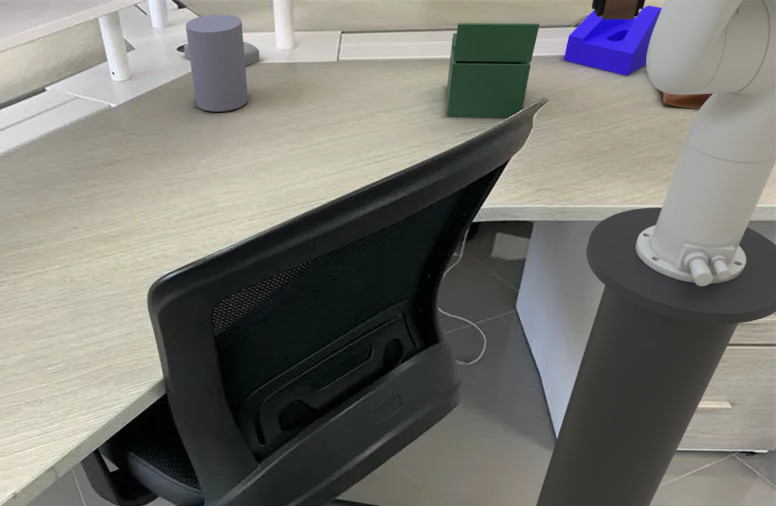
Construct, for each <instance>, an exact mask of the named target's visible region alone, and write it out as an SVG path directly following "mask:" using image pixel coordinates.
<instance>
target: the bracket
mask: <svg viewBox="0 0 776 506" xmlns="http://www.w3.org/2000/svg"><path fill="white" fill-rule="evenodd" d="M661 10H662V7H659V6H653V5H646V6H644V7H643V9H640V10H639V13H638V16H634V17H633V19H602V17H601V16H596V14H595V12H594V10H593V11H591V13H589V14H588V15H587V17H585V18H584V20H583V21H581V23H580V24H579V25H578V26H576V28H575V29H573V31H572V32H571V33H570V34H569V35H568V39H567V42H566V48H565V53H564V56H563V61H565V62H570V63H574V64H577V65H581V66H585V67H590V68H594V69H599V70H602V71H605V72H610V73H615V74H618V75H622V76H626V77H627V76H629V75H631V74H633V73H634V72H636V71H638V70H640V69H641V68H643V67H644V66H646V58H647V51H648V46H649V42H650V39H651V35H652V33H653V30H654V27H655V24H656V22H657V19H658V17H659V14H660V12H661Z"/></svg>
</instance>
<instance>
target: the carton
mask: <svg viewBox="0 0 776 506" xmlns="http://www.w3.org/2000/svg"><path fill="white" fill-rule="evenodd" d="M456 35H457V32H456V33H454V32H453V33H452V37H451V38H452V39H451V47H450V57H449V65H448V76H447V85H446V117H448V118H449V117H450V118H451V117H452V118H484V119H485V118H489V119H493V118H494V119H509V118H508V117H510V116H512V115H514V114H516V113H517V112H519V111H520V110H522V109H524V104H525V100H526V93H527V88H528V87H527V86H528V83H529V82H528V81H529V76H530V71H531V62H491V61H453V59H454V51H455V43H456ZM522 111H523V110H522Z"/></svg>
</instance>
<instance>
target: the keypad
mask: <svg viewBox="0 0 776 506" xmlns="http://www.w3.org/2000/svg"><path fill="white" fill-rule="evenodd" d="M243 45H244V57H245V67H246V66H249V65H251V64H255V63H257V62H261V61H260V60H261V59H260V58H261V57H260V50H259V48H258V47H257V46H255V45H253V44H251V43H249V42H246V41H243ZM183 50H184V57H185V58H186V59H189V60H190V54H189V47H188V43H186V44H184V45H183Z"/></svg>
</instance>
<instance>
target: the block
mask: <svg viewBox="0 0 776 506" xmlns="http://www.w3.org/2000/svg"><path fill="white" fill-rule="evenodd" d="M637 2H638V0H606V1H605V5H604V10H603V14H602V16H601V17H602V19H633V17H635V16H634V14H635V10H636V6H637Z"/></svg>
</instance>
